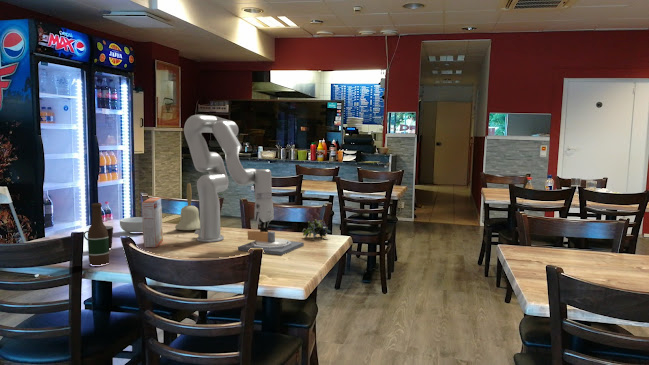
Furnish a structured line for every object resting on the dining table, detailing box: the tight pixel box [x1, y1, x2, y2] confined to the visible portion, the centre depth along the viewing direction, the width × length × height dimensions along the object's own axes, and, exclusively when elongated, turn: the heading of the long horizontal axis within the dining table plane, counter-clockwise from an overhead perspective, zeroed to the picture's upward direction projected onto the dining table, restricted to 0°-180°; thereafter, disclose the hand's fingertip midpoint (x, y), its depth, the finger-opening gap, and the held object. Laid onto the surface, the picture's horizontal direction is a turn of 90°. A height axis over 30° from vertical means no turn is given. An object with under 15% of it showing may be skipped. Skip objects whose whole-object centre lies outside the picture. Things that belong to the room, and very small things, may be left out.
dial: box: [247, 230, 287, 247], centre depth 223 cm, size 19×14×5 cm
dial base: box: [237, 239, 305, 256], centre depth 222 cm, size 22×20×2 cm
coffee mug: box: [83, 225, 114, 248], centre depth 218 cm, size 12×9×10 cm
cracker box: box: [141, 197, 164, 248], centre depth 229 cm, size 14×6×21 cm, turn 6°
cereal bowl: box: [119, 216, 143, 233], centre depth 257 cm, size 17×17×7 cm
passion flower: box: [301, 219, 332, 240], centre depth 243 cm, size 11×11×12 cm
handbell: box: [174, 183, 200, 231], centre depth 263 cm, size 15×15×25 cm
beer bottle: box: [87, 202, 110, 265], centre depth 193 cm, size 8×8×24 cm
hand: (264, 235), depth 230 cm, fingers closed
